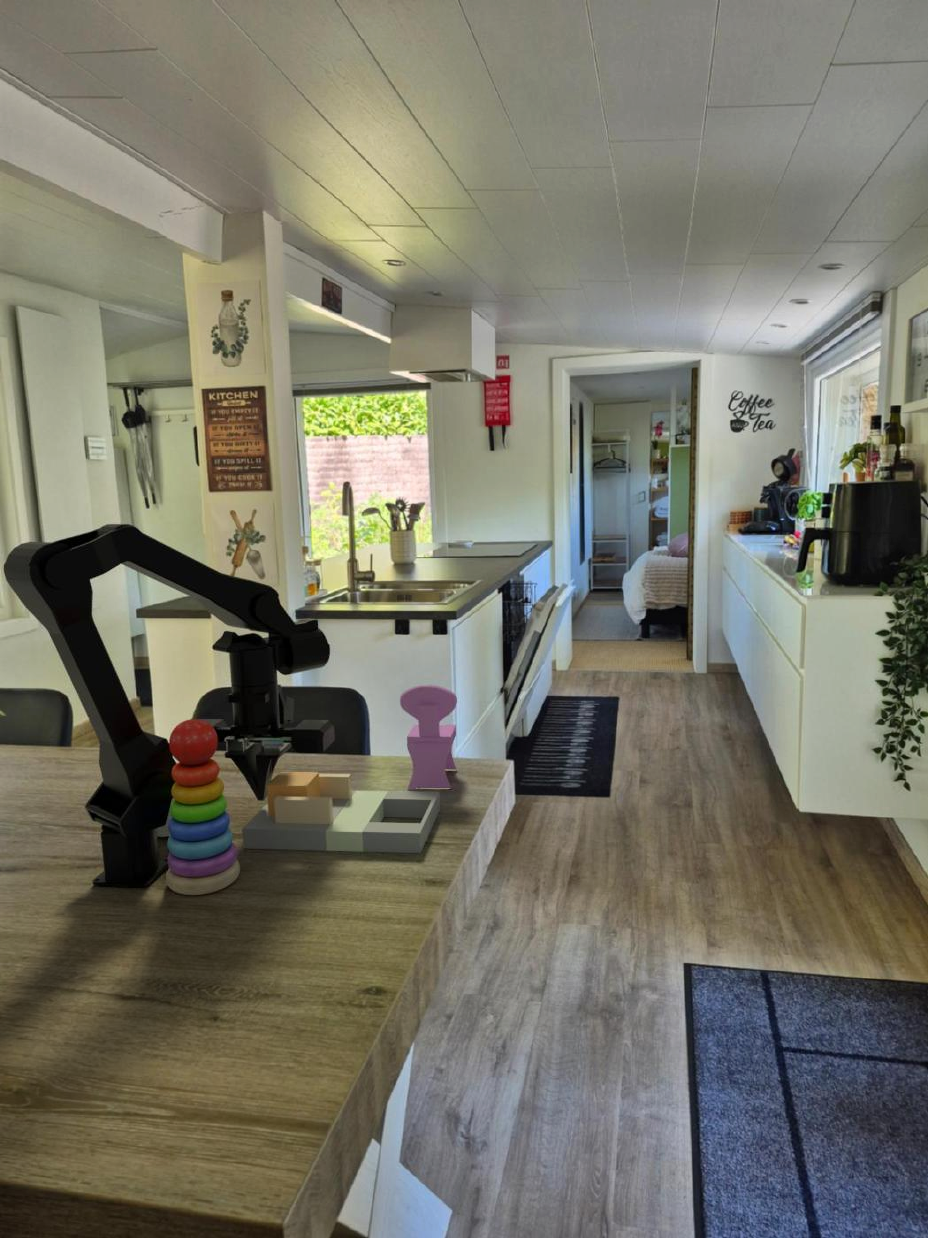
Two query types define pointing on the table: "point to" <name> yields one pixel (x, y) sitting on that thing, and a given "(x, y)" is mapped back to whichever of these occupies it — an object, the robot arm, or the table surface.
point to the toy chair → (430, 735)
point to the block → (292, 787)
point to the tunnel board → (344, 820)
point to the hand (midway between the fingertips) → (262, 799)
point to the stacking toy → (198, 815)
